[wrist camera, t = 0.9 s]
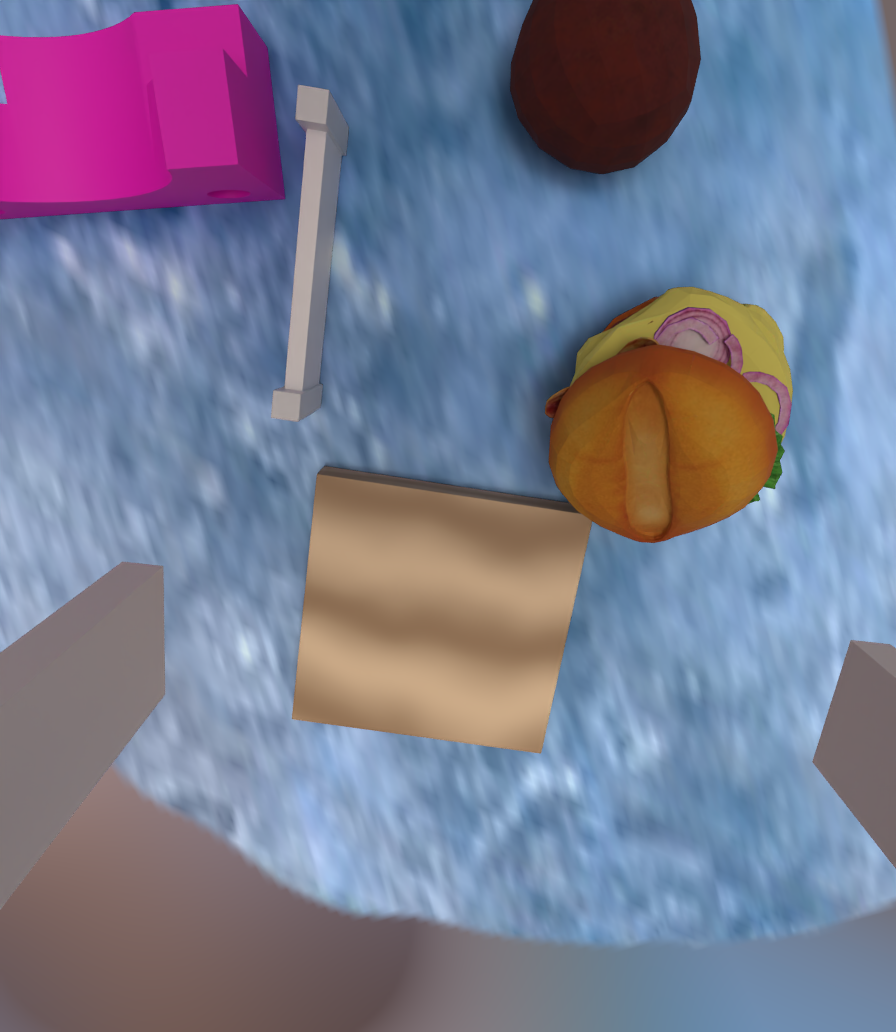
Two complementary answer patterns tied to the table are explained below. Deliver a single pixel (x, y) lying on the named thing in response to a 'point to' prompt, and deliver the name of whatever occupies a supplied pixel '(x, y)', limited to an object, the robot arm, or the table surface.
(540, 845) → the table surface
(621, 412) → the cheeseburger
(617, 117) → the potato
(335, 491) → the board
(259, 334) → the table surface
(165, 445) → the table surface
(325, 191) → the grey bracket pieces
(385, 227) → the table surface
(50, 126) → the toy block
